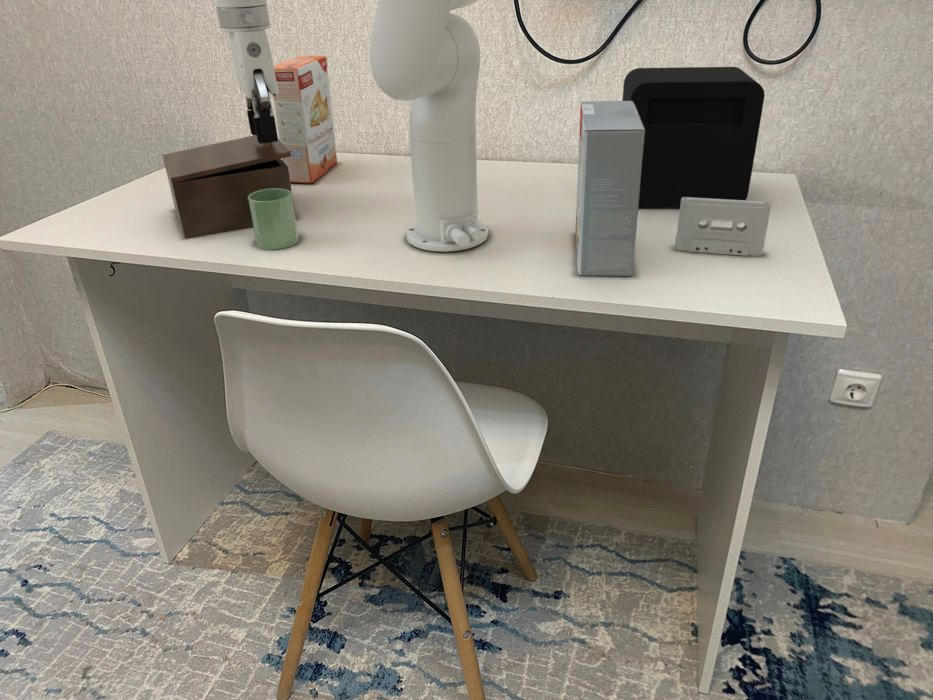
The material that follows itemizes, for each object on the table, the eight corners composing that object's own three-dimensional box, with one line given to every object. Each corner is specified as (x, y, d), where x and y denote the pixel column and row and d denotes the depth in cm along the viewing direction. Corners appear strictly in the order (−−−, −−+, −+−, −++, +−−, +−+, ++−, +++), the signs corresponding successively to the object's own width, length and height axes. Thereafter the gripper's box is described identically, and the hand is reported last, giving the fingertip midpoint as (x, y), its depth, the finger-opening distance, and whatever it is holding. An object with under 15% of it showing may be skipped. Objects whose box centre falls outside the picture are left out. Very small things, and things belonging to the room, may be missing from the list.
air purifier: (728, 181, 133) (746, 64, 123) (747, 209, 121) (768, 81, 111) (615, 181, 135) (623, 66, 125) (621, 208, 123) (631, 82, 113)
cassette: (761, 252, 105) (771, 200, 101) (762, 257, 104) (772, 205, 100) (674, 246, 108) (680, 195, 104) (674, 251, 107) (680, 199, 103)
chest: (277, 194, 135) (269, 145, 130) (296, 219, 123) (288, 166, 119) (175, 210, 129) (163, 159, 124) (184, 238, 117) (171, 183, 112)
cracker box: (314, 184, 139) (298, 67, 128) (284, 183, 140) (266, 67, 130) (340, 163, 151) (327, 54, 140) (312, 162, 152) (297, 54, 141)
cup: (302, 244, 113) (295, 197, 109) (260, 252, 111) (252, 204, 107) (293, 231, 118) (286, 185, 114) (253, 238, 116) (244, 192, 112)
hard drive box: (574, 234, 113) (580, 100, 103) (624, 234, 113) (635, 99, 103) (576, 276, 100) (584, 127, 90) (634, 277, 99) (647, 127, 89)
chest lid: (272, 136, 130) (264, 104, 127) (291, 156, 118) (283, 122, 115) (163, 159, 124) (153, 127, 121) (172, 183, 112) (160, 148, 110)
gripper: (279, 22, 107) (298, 146, 117) (258, 12, 121) (276, 124, 130) (227, 26, 105) (250, 153, 114) (211, 16, 119) (233, 130, 128)
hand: (264, 136), depth 122 cm, fingers closed on chest lid, 5 cm apart
